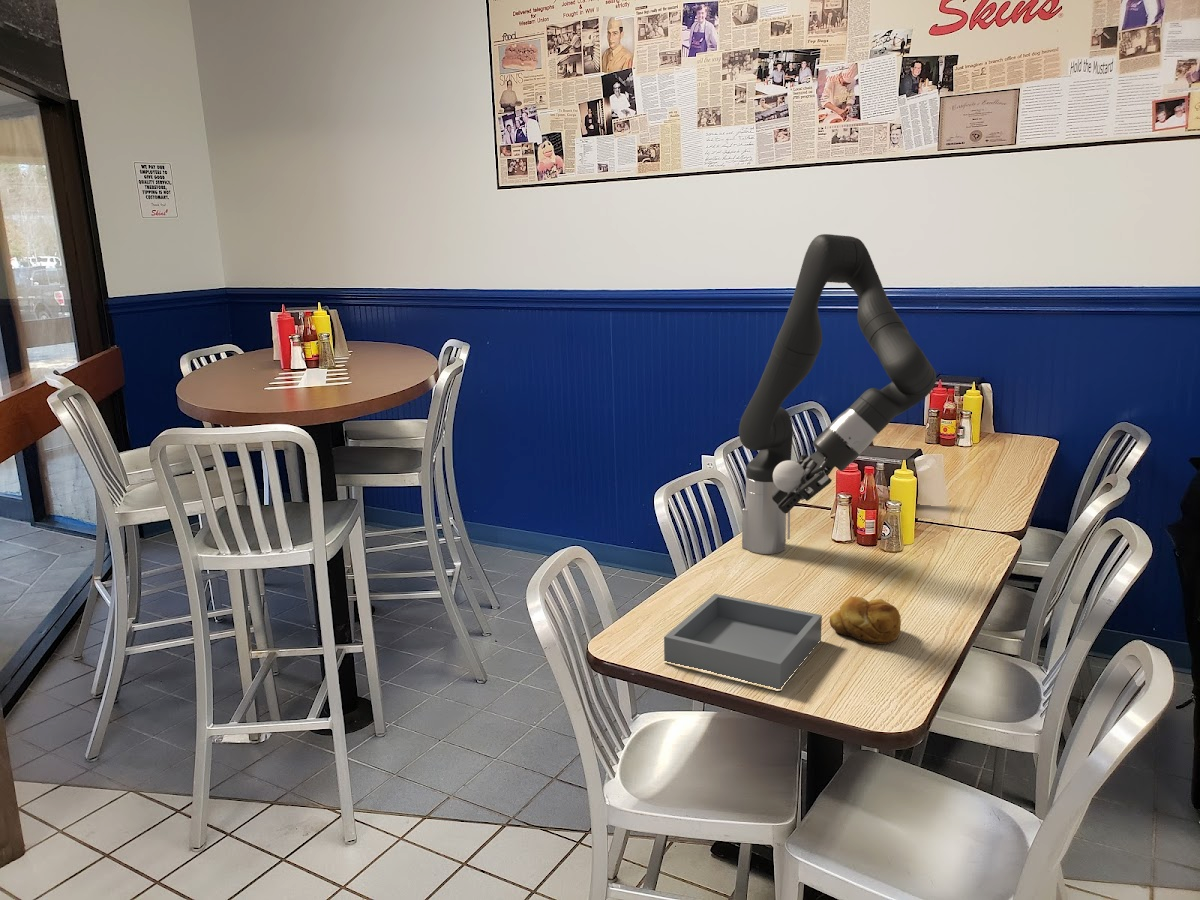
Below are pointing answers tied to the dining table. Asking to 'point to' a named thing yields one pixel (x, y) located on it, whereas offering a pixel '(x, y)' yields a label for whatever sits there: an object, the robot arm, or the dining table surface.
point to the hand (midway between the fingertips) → (778, 505)
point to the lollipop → (787, 480)
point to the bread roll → (867, 620)
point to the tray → (744, 640)
